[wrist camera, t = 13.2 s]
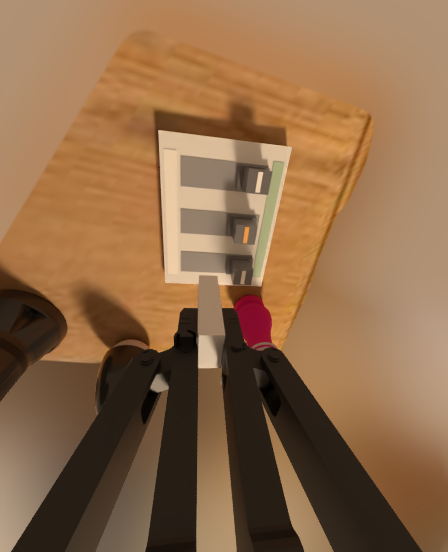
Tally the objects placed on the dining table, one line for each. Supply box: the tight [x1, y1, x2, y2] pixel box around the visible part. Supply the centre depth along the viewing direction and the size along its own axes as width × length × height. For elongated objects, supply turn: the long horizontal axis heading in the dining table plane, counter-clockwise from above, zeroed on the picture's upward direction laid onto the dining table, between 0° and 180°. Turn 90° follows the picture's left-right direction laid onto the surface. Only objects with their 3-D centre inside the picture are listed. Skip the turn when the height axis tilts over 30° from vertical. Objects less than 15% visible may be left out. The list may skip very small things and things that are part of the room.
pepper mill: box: [234, 295, 277, 351], centre depth 36 cm, size 7×7×20 cm
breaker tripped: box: [226, 215, 258, 245], centre depth 32 cm, size 4×3×5 cm
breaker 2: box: [236, 165, 273, 195], centre depth 28 cm, size 4×3×5 cm
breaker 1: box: [226, 256, 254, 285], centre depth 35 cm, size 4×3×5 cm
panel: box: [158, 130, 292, 286], centre depth 34 cm, size 18×23×2 cm
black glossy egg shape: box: [95, 339, 150, 415], centre depth 42 cm, size 10×10×15 cm
